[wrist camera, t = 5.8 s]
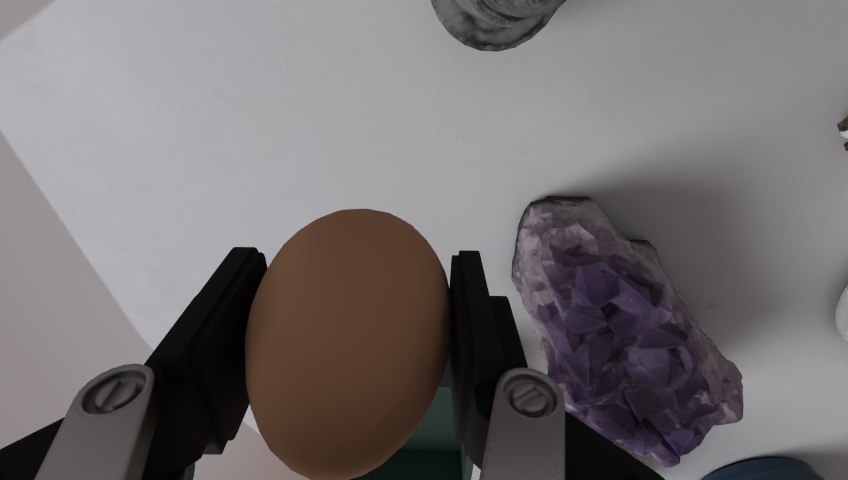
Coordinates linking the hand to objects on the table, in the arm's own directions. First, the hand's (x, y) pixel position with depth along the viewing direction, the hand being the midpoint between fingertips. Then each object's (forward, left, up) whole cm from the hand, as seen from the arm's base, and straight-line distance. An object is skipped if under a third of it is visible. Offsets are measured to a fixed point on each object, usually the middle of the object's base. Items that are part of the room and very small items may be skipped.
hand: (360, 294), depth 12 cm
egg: (0, 0, -3) cm, 3 cm away
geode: (+15, -12, -14) cm, 24 cm away
